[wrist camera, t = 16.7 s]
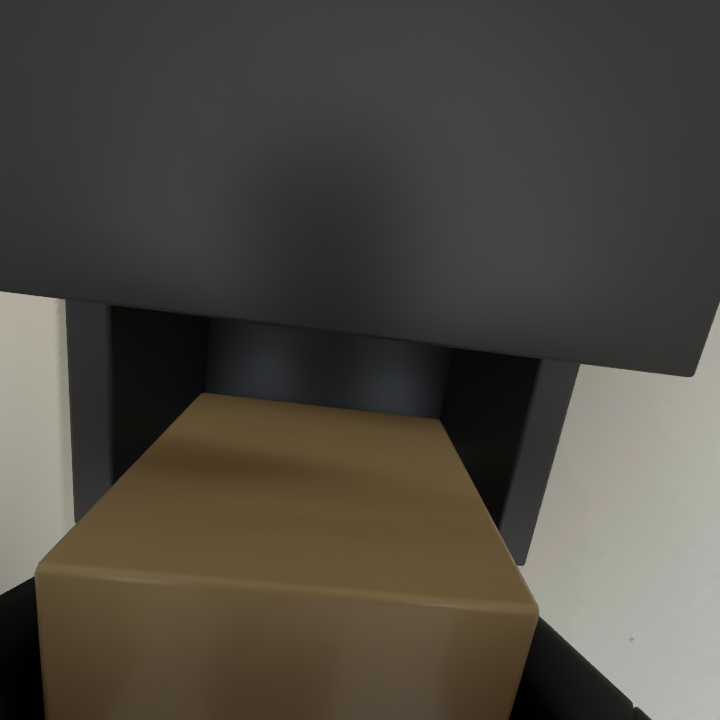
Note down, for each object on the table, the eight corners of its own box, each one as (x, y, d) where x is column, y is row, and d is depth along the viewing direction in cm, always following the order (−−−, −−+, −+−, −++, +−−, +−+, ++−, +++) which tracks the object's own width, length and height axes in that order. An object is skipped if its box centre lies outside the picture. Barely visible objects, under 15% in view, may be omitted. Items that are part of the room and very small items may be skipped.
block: (403, 609, 9) (452, 923, 5) (192, 592, 9) (55, 907, 5) (440, 417, 8) (545, 611, 4) (200, 391, 8) (28, 566, 4)
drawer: (433, 593, 18) (488, 815, 11) (168, 570, 18) (49, 792, 10) (554, 33, 13) (800, -211, 6) (182, -32, 12) (-38, -399, 5)
